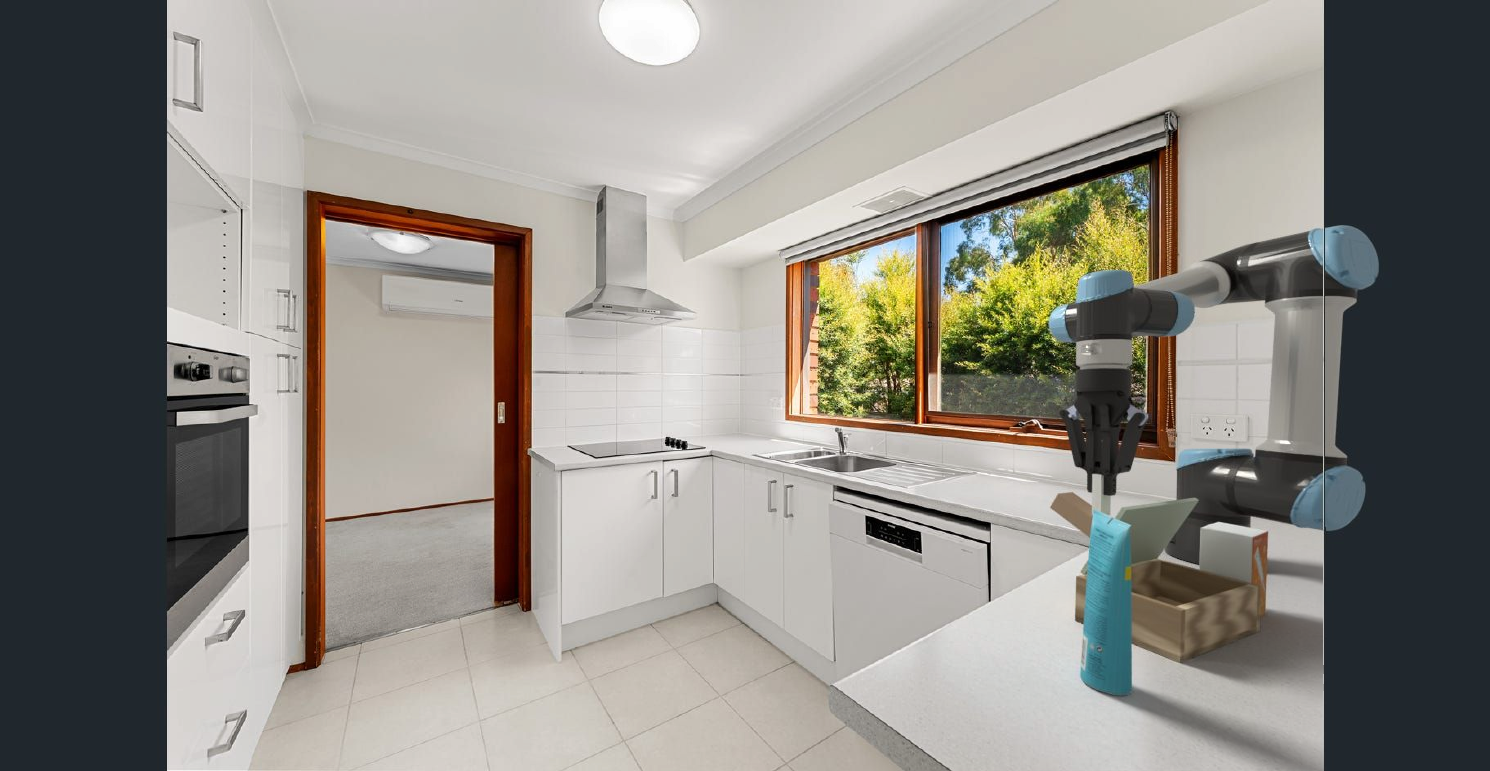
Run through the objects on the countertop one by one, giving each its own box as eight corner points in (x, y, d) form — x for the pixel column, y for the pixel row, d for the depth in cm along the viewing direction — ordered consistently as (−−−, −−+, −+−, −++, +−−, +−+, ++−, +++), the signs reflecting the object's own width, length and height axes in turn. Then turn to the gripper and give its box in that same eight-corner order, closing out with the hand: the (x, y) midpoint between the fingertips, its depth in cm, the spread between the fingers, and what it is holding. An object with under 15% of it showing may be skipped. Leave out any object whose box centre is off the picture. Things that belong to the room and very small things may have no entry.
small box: (1251, 625, 78) (1253, 536, 78) (1196, 609, 83) (1198, 526, 83) (1267, 613, 82) (1269, 530, 82) (1214, 599, 88) (1216, 520, 88)
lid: (1157, 558, 87) (1087, 509, 97) (1199, 500, 82) (1121, 454, 92) (1083, 575, 78) (1015, 518, 88) (1126, 510, 73) (1048, 458, 83)
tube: (1150, 704, 57) (1155, 525, 57) (1104, 702, 57) (1109, 523, 57) (1105, 667, 64) (1109, 509, 64) (1064, 666, 64) (1069, 508, 64)
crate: (1156, 597, 88) (1157, 558, 88) (1259, 630, 76) (1260, 585, 76) (1074, 620, 78) (1076, 576, 78) (1180, 662, 66) (1181, 610, 66)
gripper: (1049, 368, 90) (1047, 508, 89) (1135, 365, 78) (1132, 526, 78) (1076, 370, 93) (1074, 505, 93) (1161, 368, 82) (1159, 521, 81)
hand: (1101, 514), depth 85 cm, fingers closed
